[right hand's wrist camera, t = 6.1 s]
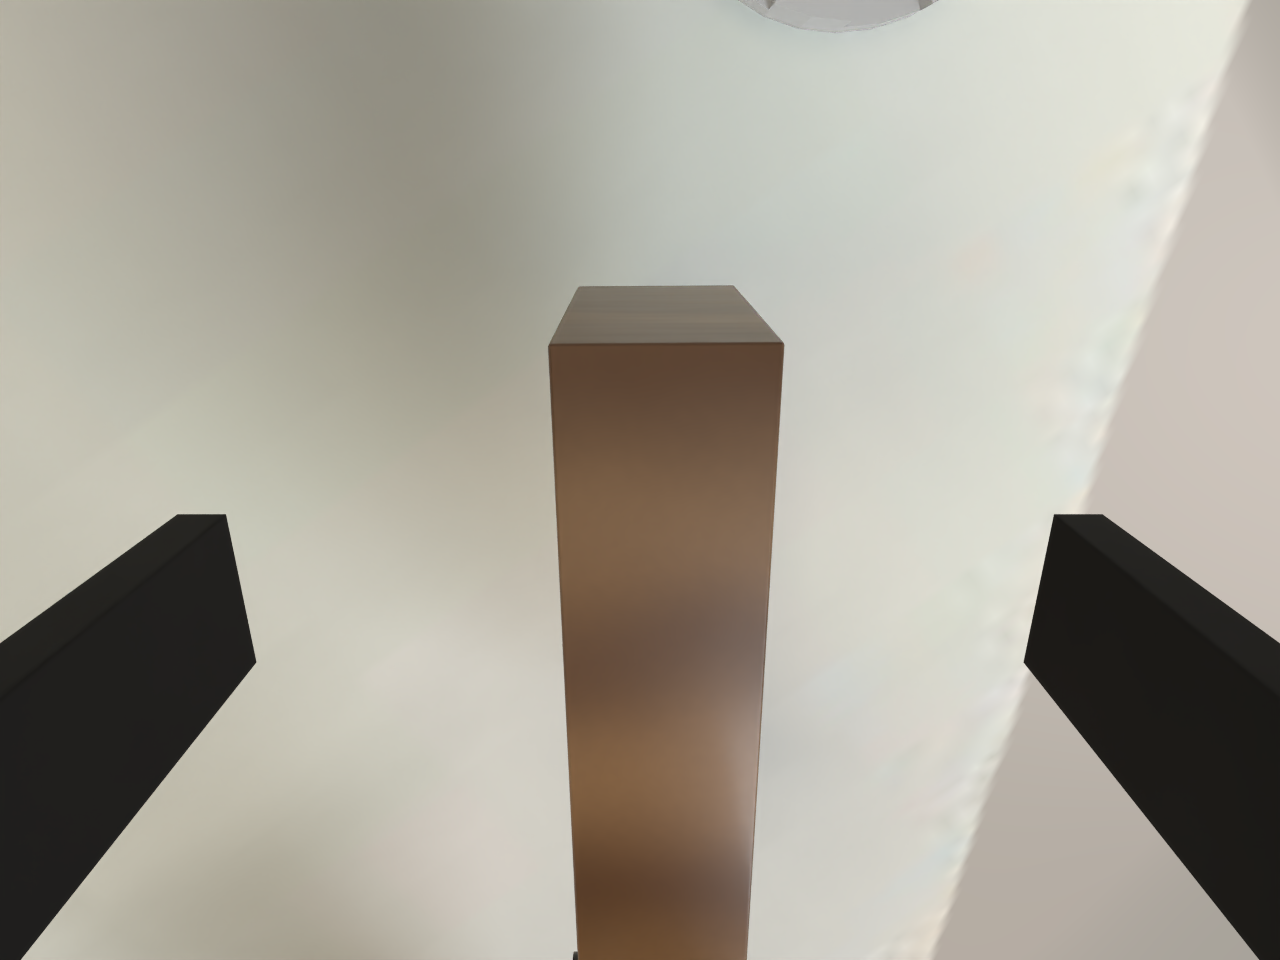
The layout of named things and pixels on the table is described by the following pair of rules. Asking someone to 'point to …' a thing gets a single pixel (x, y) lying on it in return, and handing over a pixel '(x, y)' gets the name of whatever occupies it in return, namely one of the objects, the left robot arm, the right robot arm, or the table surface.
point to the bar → (664, 608)
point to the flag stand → (837, 12)
